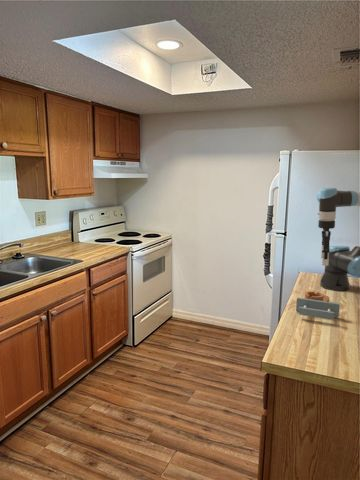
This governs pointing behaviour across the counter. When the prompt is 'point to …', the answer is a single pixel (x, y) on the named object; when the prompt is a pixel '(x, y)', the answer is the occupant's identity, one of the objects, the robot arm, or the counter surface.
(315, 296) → the bracket
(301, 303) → the plate
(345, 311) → the counter surface
